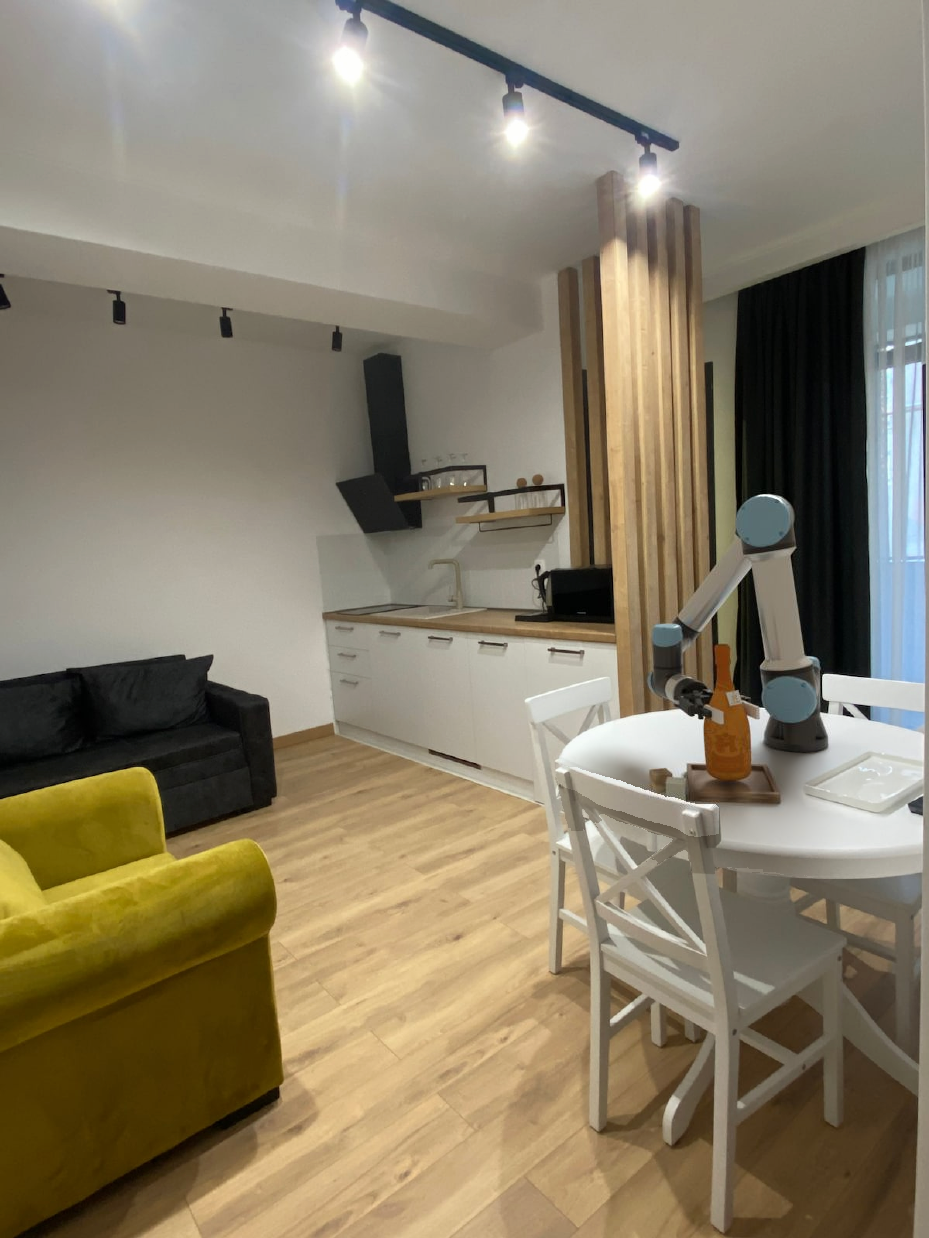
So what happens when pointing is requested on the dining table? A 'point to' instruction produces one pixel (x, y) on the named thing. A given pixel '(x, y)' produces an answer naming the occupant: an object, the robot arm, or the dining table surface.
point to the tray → (732, 786)
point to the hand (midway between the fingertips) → (739, 715)
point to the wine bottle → (727, 727)
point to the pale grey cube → (676, 787)
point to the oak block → (659, 779)
